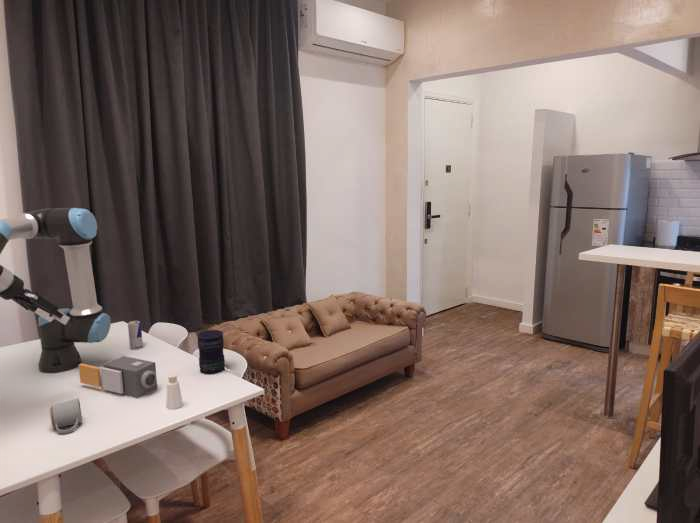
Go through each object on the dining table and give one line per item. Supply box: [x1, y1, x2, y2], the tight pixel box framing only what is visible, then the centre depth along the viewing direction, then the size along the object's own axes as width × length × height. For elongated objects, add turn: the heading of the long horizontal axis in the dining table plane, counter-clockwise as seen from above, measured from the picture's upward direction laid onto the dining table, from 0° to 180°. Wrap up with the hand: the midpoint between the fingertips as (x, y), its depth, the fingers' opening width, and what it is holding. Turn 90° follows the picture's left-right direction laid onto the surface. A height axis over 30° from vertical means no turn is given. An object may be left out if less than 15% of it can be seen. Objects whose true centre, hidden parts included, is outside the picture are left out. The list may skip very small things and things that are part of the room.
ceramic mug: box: [49, 398, 83, 435], centre depth 156 cm, size 11×8×8 cm
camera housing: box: [102, 355, 158, 399], centre depth 182 cm, size 18×9×11 cm, turn 65°
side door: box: [77, 363, 124, 395], centre depth 181 cm, size 21×1×8 cm, turn 65°
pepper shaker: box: [165, 373, 184, 410], centre depth 169 cm, size 5×5×11 cm
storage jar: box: [197, 329, 226, 375], centre depth 199 cm, size 10×10×15 cm
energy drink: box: [127, 320, 144, 350], centre depth 225 cm, size 5×5×12 cm
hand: (59, 319), depth 172 cm, fingers open, 7 cm apart
